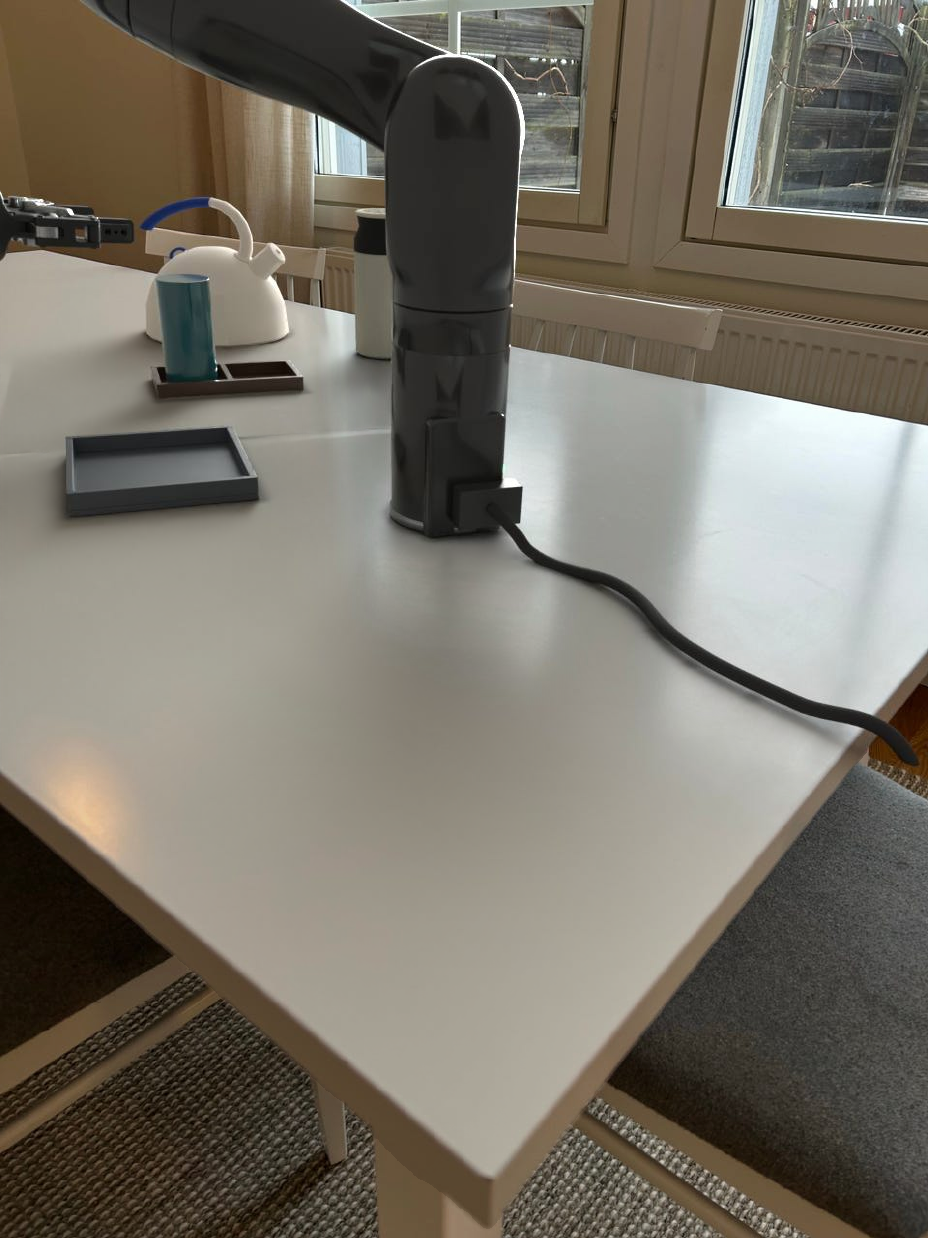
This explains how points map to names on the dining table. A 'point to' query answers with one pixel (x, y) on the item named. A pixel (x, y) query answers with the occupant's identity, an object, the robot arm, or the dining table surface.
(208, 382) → the tray
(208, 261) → the kettle
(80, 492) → the tray
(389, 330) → the travel mug
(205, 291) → the teal cylinder
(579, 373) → the dining table surface
